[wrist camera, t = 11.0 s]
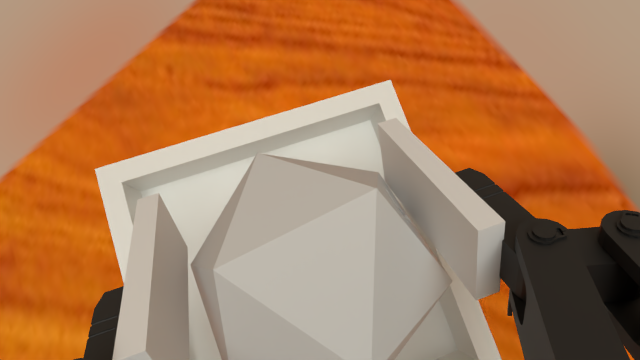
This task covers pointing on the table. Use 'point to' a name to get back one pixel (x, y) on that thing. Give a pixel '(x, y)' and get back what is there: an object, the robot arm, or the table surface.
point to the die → (315, 266)
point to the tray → (291, 142)
